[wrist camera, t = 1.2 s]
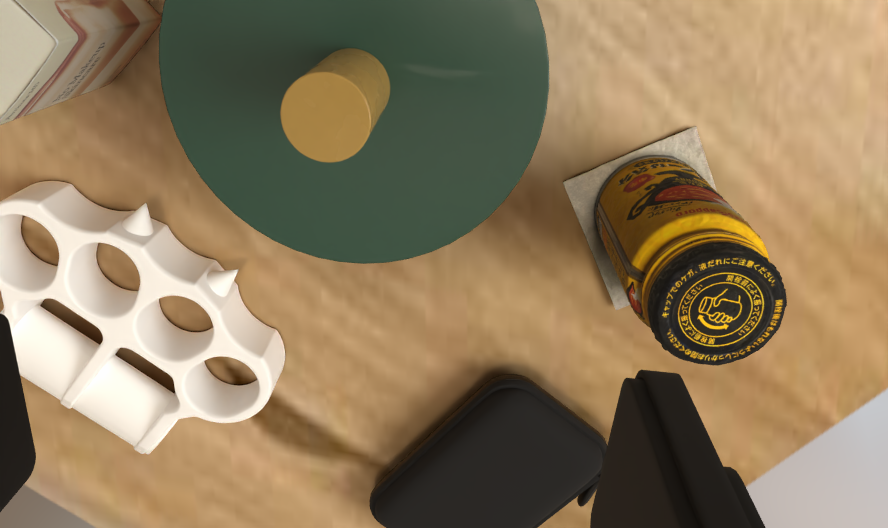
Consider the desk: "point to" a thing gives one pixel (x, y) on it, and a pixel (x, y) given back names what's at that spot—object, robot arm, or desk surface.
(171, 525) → the desk surface
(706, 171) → the condiment
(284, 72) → the tin lid
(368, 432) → the desk surface
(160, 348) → the knuckle duster
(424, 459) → the carrying case
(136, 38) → the white cardboard carton
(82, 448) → the desk surface
